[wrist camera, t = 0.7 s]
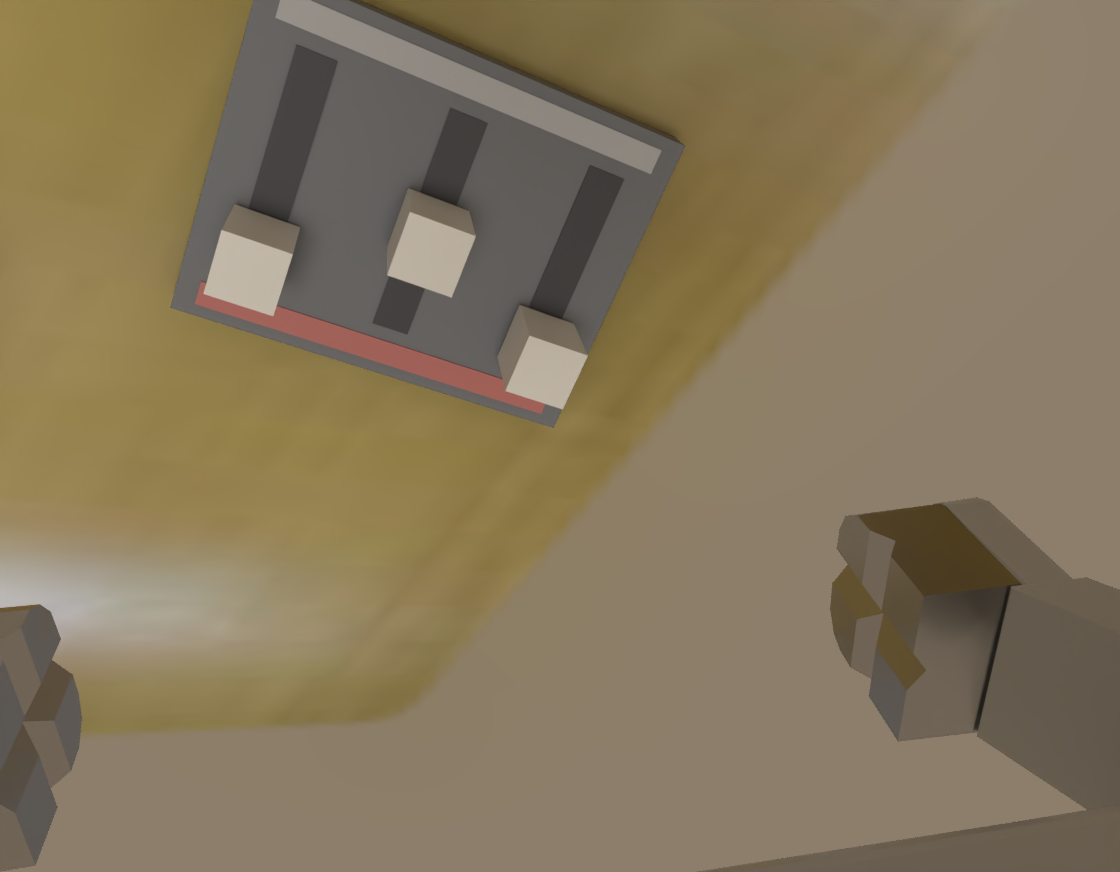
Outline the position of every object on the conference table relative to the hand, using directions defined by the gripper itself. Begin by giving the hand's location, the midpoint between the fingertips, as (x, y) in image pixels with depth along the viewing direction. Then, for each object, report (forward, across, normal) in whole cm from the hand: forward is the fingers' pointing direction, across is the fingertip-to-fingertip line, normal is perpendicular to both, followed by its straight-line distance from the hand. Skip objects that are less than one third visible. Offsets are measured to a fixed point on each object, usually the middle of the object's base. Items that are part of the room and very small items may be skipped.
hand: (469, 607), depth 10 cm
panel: (+40, -1, +6) cm, 40 cm away
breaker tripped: (+38, -1, +6) cm, 38 cm away
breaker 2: (+38, -5, +12) cm, 40 cm away
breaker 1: (+38, +7, +6) cm, 39 cm away
